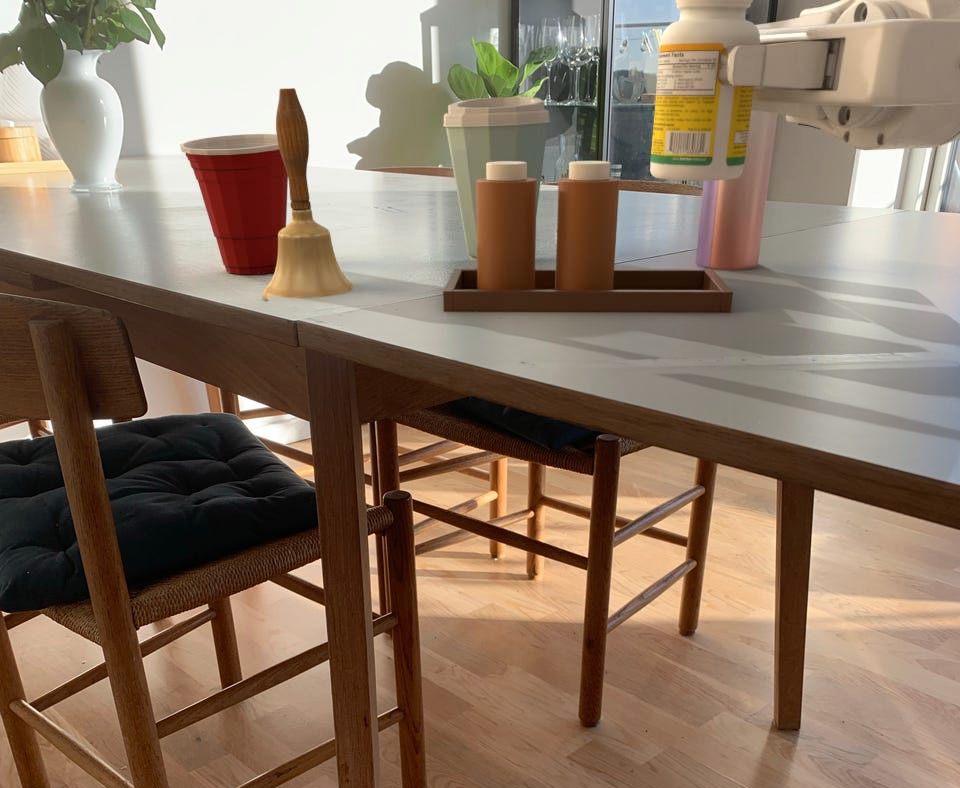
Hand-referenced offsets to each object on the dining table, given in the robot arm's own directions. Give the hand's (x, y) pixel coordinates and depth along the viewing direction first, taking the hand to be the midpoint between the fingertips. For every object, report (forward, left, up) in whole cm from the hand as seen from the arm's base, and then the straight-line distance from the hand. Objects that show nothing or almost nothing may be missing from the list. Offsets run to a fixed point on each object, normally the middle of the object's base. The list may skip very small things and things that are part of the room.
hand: (692, 67), depth 52 cm
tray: (+2, -22, -17) cm, 28 cm away
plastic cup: (+32, -43, -17) cm, 56 cm away
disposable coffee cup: (+7, -46, -17) cm, 50 cm away
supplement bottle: (-1, 0, -6) cm, 6 cm away
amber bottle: (+2, -22, -16) cm, 28 cm away
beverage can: (-15, -37, -17) cm, 44 cm away
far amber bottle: (+8, -23, -16) cm, 29 cm away
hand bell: (+25, -29, -17) cm, 42 cm away
